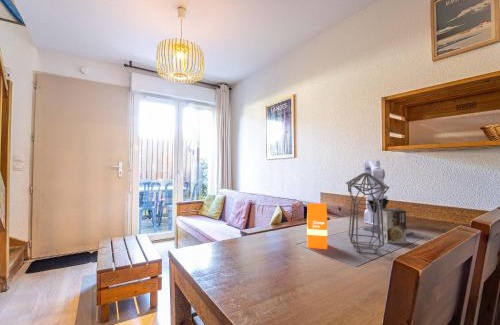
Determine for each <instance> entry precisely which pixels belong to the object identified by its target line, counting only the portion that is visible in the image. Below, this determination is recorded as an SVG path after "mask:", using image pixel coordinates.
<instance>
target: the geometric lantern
mask: <svg viewBox="0 0 500 325" xmlns="http://www.w3.org/2000/svg"><path fill="white" fill-rule="evenodd" d="M368 176H369V177H370V178H371V179H372V180H373V179H374V180H375V181H376V182H377V183H376V182H375V181H374V180H373V181H374V182H375V183H373V184H371V183H370V180H369V177H368ZM361 179H362V182H361V183H359V182H360V181H361ZM376 179H377V178H375V177H374V176H372V175H371V174H369V173H365V172H362V173H361V174H359V175H357V176H355V177H354V178H351V179H350V180H348V181H347V182H346V181H345V184H347V192H349V195H350V197H351V198H350V201H351V203H350V204H351V205H350V216H349V227H348V238H349V241H350V244H352V245H353V246H352V247H353V249H354V251H356V253H360V254H361V253H362V254H375V255H376V254H378V249H380V248H382V247H384V246H385V241H384V233H383V212H382V203H381V204H380V203H379V202H378V200H379V198H380V196H381V194H383V196H385V194H386V193H387V191H388V190H389V189H390V186H388V185H387V184H385V183H383V184H384V185H383V184H382V182H381V181H380V182H379V180H378V179H377V180H376ZM375 184H376V185H378V184H379V185H380V187H378V188H373V187H375V186H376V185H375ZM366 185H367V186H366ZM369 185H370V187H371V188H369ZM371 185H374V186H373V187H372V186H371ZM352 188H355V189H356V190H358V192H357V194H356V196H355V197H354V195H353V192H352ZM382 188H383V189H382ZM371 189H380V190H378V191H376V192H374V193H372V190H371ZM369 190H371V193H370V191H369ZM383 190H384V193H383ZM379 191H381V193H380V195H379V197H378V199H377V201H376V200H375V198H374V196H373V194H375V193H377V192H379ZM360 192H361V193H362V194H363V195H362V197H361V198H360V199H359V200H358V201H357V197H358V195H359V194H360ZM365 192H368V193H365ZM369 195H371V196H372V197H373V199H374V200H375V201H374V200H366V199H363V198H364V197H365V196H369ZM361 201H363V202H364V201H365V202H366V201H374V208H373V224H372V226H373V232H372V235H367V234H365V235H364V234H358V231H359V229H358V228H359V224H358V222H359V218H358V214H359V207H358V206H359V205H361V206H362V205H363V206H366V205H373V204H366V203H360V202H361ZM375 202H376V204H377V205H375ZM382 202H383V197H382ZM378 203H379V204H380V205H378ZM375 206H377V222H378V225H377V226H378V233H377V236H375V233H374V226H375V225H374V216H375ZM379 206H381V223H382V234H380V222H379ZM355 216H356V217H355ZM355 220H356V221H355ZM355 222H356V223H355ZM355 225H356V226H355ZM354 228H355V229H354ZM354 230H356V231H355V233H356V234H355V233H354ZM354 236H355V238H354ZM358 236H359V237H365V238H367V237H368V238H371V239H370V241H369V242H367V241H358V240H359V239H358V238H359V237H358ZM373 238H375V240H374V241H372V240H373ZM355 239H356V240H355ZM376 241H378V245H377V244H374V243H376ZM361 249H362V250H363V249H364V250H373V251H374V252H369V251H361Z"/></svg>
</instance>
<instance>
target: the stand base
mask: <svg viewBox="0 0 500 325" xmlns="http://www.w3.org/2000/svg"><path fill="white" fill-rule="evenodd" d="M363 230H365V231H367V232H371V233H373V225H372V226H366V227H363ZM374 234H378V225H374ZM409 234H410V235H414V234H415V232H414V231H412V230H409V229H406V236H408V235H409ZM380 235H382V224H380Z"/></svg>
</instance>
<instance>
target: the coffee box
mask: <svg viewBox="0 0 500 325" xmlns="http://www.w3.org/2000/svg"><path fill="white" fill-rule="evenodd" d="M382 212H383V233H384V243H386V244H404V245H405V244H407V235H406V230H407V215H406V214H407V211H406V210H404V209H402V208H385V209H382Z"/></svg>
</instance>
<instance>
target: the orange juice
mask: <svg viewBox="0 0 500 325" xmlns="http://www.w3.org/2000/svg"><path fill="white" fill-rule="evenodd" d="M306 207H307V210H306V211H307V213H306V244H307V248H308V249H321V250H328V213H327V212H328V211H327V203H312V202H309V203H307V206H306Z"/></svg>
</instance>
